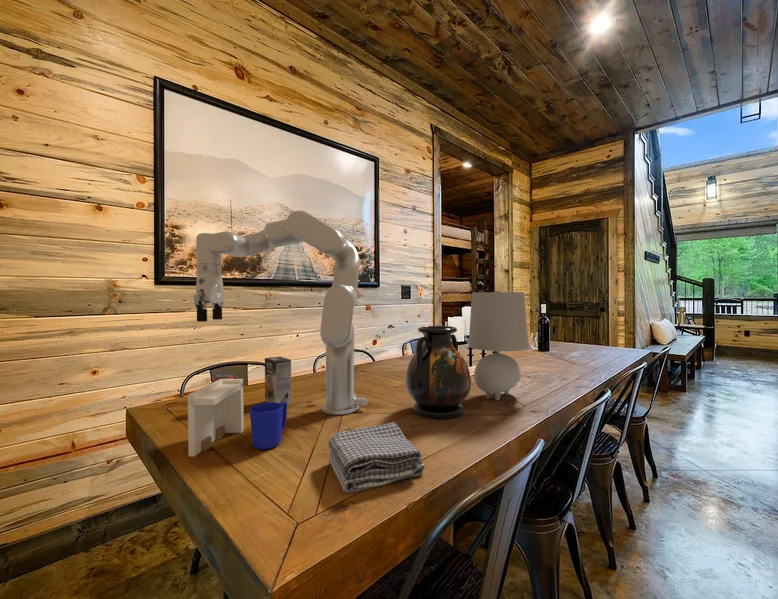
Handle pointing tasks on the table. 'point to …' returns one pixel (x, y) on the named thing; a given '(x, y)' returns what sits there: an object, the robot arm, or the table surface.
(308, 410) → the table surface
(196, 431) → the shelf
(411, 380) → the amphora vase
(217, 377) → the beer can
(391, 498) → the table surface
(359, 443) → the towel
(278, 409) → the mug
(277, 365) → the coffee box
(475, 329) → the table lamp
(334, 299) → the robot arm
